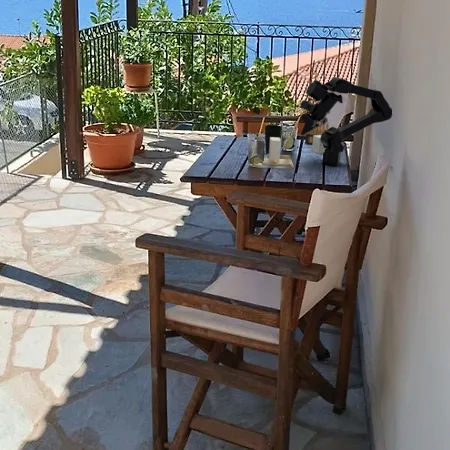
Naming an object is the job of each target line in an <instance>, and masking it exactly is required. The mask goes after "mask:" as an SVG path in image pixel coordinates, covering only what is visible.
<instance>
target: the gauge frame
mask: <svg viewBox="0 0 450 450" xmlns="http://www.w3.org/2000/svg"><path fill="white" fill-rule="evenodd" d="M256 142H257V148H256V147H255V154H256V153H257V157H259V158H260V159H261V160H262V163H258V164H255V163H254V162H253V167H254V168H260V169H261V168H262V169H263V168H264V169H265V168H266V169H289V170H290V169H292V170H294V169H295V166H294V163H293V161H292V155H289V154H288V155H287V154H286V155H285V154H280V161H279V162H277V163H274V162H270V161H269V154H267V155H266V156H267V157H265V139H264V136H256ZM263 158H264V161H263Z"/></svg>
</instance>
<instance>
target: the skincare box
mask: <svg viewBox="0 0 450 450" xmlns="http://www.w3.org/2000/svg"><path fill="white" fill-rule="evenodd" d="M320 138H321V135H314V136H313V144H312V145H311V152H313V153H316V154H319V155H321V154H322V155H323V153H324V152H325V149H326V148H324V147H323V144H322V143H321V140H320Z"/></svg>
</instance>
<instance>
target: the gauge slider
mask: <svg viewBox="0 0 450 450" xmlns="http://www.w3.org/2000/svg"><path fill="white" fill-rule="evenodd" d="M281 143H282V140H281V138H277V137H270V147H269V154H268V155H269V161H270V162H274V163H277V162H279V161H280V155H281V147H282V146H281V145H282V144H281Z"/></svg>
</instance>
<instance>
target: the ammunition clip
mask: <svg viewBox="0 0 450 450" xmlns="http://www.w3.org/2000/svg"><path fill="white" fill-rule="evenodd" d="M318 125H319V127H318V128H316V129H314V130H312V131H310V132H308V133H306V134H305V141H304V145H306V146H312V144H313V136H314V135H321V134H322V133H324V132H325V131H324V130H328V129H329V121H328V122H327V123H326V124H325V125H322V122H318Z"/></svg>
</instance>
